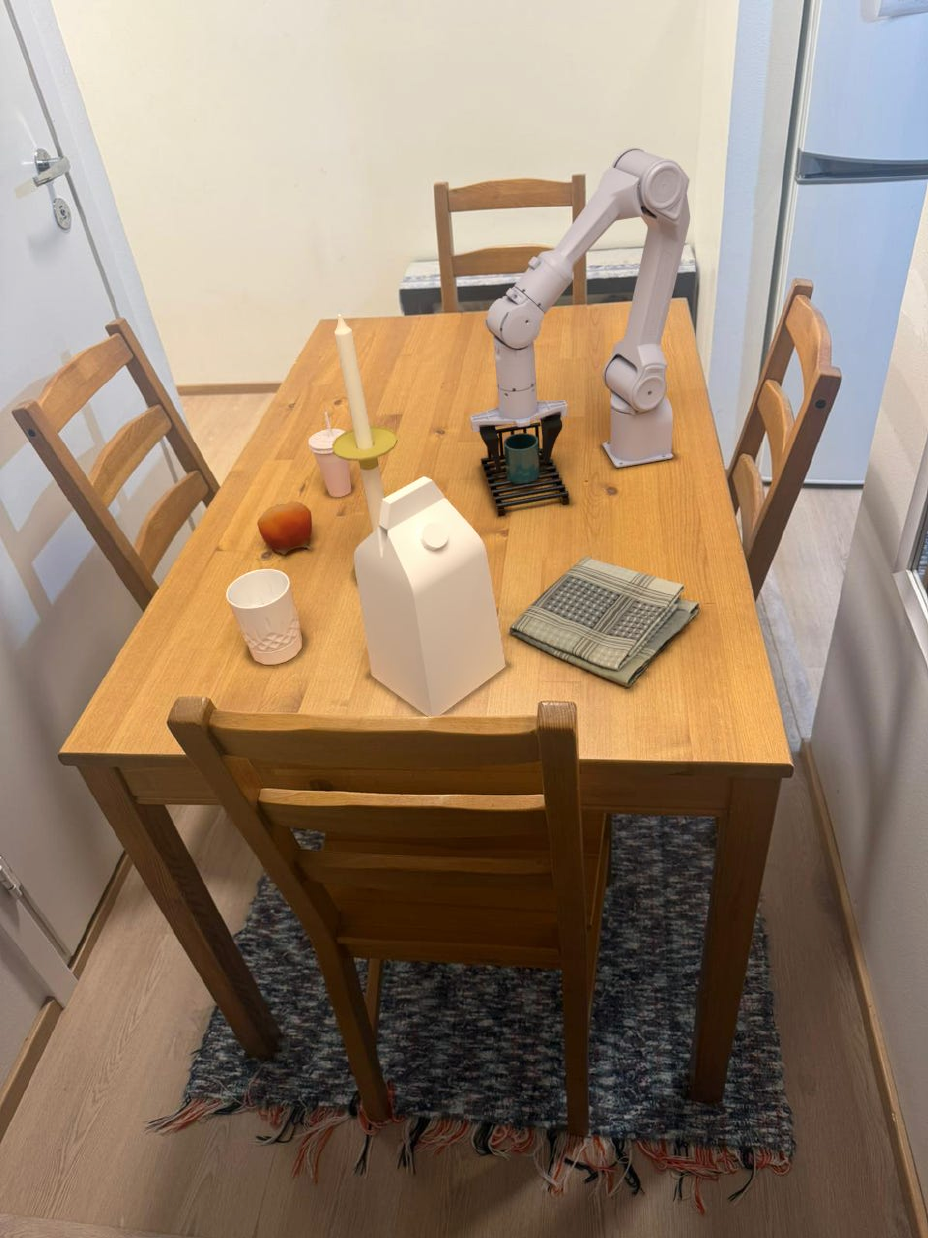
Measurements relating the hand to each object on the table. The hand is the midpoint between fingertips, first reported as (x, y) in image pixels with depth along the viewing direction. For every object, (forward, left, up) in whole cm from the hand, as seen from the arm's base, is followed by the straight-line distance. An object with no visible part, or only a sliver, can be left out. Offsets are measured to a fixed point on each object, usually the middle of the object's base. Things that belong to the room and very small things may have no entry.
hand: (522, 464), depth 136 cm
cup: (0, 0, -2) cm, 2 cm away
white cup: (+39, +29, -4) cm, 49 cm away
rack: (0, 0, -4) cm, 4 cm away
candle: (+23, +16, -4) cm, 28 cm away
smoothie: (+29, -8, -4) cm, 30 cm away
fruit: (+37, +5, -4) cm, 38 cm away
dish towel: (-3, +36, -4) cm, 36 cm away
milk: (+19, +39, -4) cm, 44 cm away
